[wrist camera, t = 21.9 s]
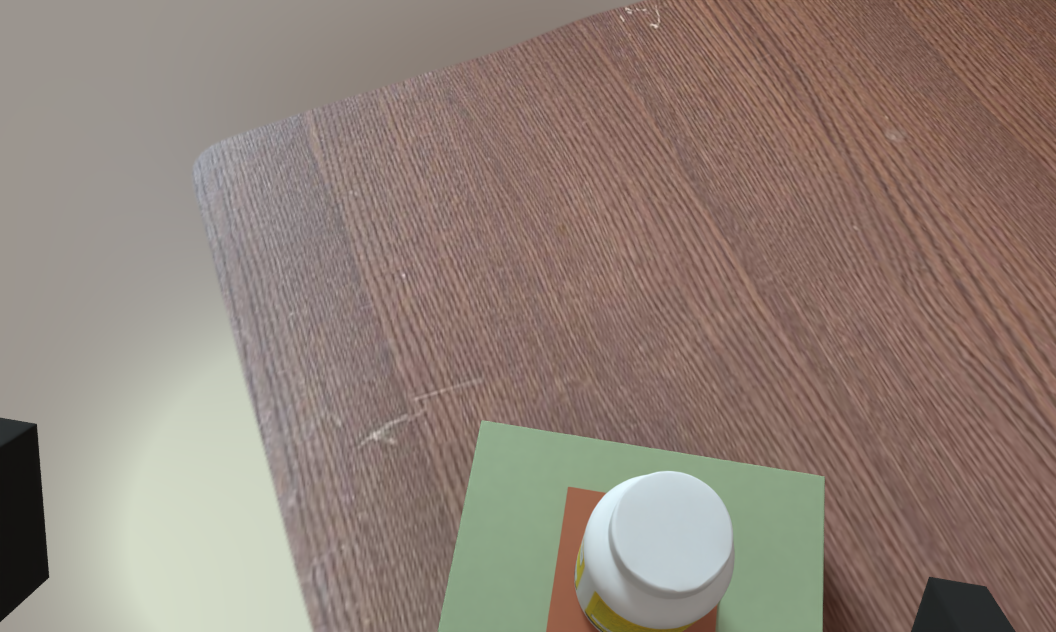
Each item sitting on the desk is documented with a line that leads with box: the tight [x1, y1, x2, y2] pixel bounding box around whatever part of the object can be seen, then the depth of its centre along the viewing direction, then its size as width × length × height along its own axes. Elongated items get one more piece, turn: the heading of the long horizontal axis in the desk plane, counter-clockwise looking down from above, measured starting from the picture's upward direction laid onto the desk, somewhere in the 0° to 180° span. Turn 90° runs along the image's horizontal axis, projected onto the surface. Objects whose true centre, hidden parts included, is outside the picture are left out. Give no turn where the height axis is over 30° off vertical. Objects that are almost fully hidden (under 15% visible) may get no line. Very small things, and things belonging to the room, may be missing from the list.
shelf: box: [438, 421, 825, 632], centre depth 38 cm, size 16×12×5 cm
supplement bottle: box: [574, 471, 735, 632], centre depth 31 cm, size 5×5×10 cm
